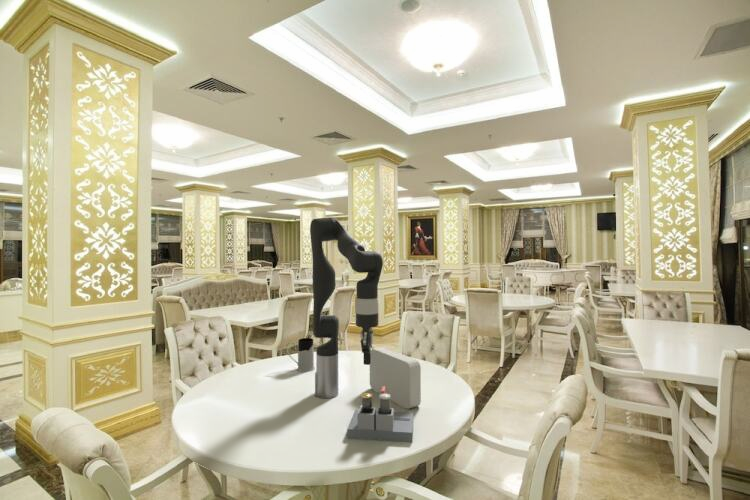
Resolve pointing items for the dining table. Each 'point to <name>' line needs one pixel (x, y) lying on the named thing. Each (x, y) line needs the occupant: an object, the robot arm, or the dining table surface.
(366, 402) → the brass button
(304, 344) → the grey mug
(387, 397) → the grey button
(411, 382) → the rounded white slab
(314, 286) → the robot arm
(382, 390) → the red lever
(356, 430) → the console
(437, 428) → the dining table surface
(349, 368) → the dining table surface
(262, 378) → the dining table surface
